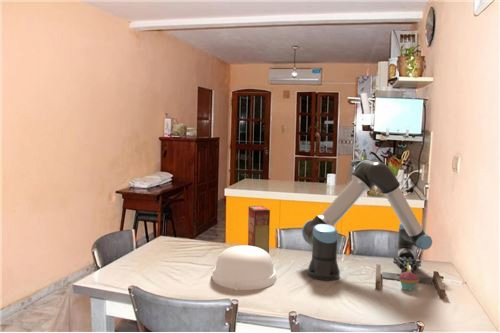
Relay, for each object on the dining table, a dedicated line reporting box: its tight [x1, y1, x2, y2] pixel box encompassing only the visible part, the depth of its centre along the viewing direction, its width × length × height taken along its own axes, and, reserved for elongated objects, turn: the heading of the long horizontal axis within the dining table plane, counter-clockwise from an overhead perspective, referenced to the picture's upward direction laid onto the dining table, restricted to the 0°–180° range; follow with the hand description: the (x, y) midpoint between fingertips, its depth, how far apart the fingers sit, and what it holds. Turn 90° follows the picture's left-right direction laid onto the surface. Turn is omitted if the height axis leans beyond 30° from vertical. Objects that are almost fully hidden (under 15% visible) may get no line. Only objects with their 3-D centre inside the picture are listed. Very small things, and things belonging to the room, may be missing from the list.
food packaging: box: [247, 205, 271, 255], centre depth 236 cm, size 13×9×25 cm
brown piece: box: [374, 264, 446, 300], centre depth 192 cm, size 28×24×4 cm
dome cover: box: [211, 244, 278, 291], centre depth 195 cm, size 32×30×14 cm
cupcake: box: [398, 262, 419, 291], centre depth 187 cm, size 9×8×12 cm
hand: (409, 272), depth 191 cm, fingers closed
